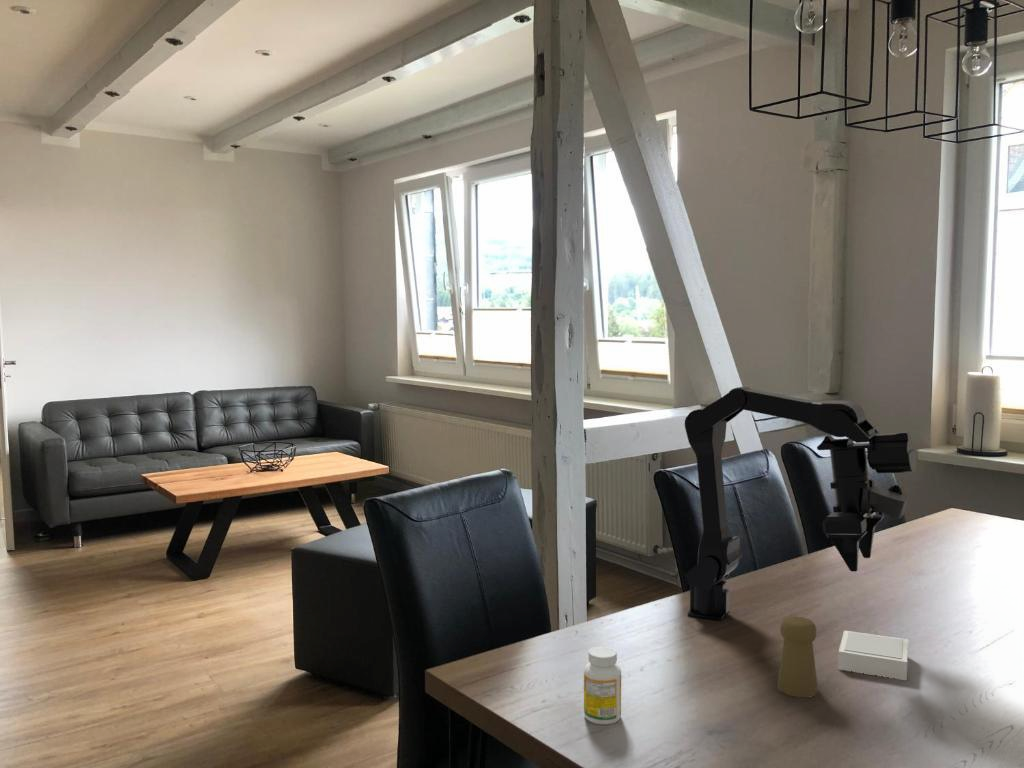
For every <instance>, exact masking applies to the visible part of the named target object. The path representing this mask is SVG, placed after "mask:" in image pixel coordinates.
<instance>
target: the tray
mask: <svg viewBox="0 0 1024 768" xmlns="http://www.w3.org/2000/svg"><path fill="white" fill-rule="evenodd" d="M838 648H839V649H838V662H837V663H838V666H837V667H838V668H837V669H839V671H844V670H845V672H851V671H852V673H856V674H857V673H858V674H863V673H864V675H871V676H875V675H877V677H881V676H883V677H884V678H887V677H889V678H888V679H893V678H895V679H894V680H899V681H900V680H901V681H906V680H907V677H908V661H909V659H908V658H909V639H907V638H902V637H901V638H900V637H899V638H898V637H894V636H893V637H892V636H886V635H878V634H872V633H864V632H858V631H851V630H843V634H842V637H841V642H840V645H839V647H838Z"/></svg>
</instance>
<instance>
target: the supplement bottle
mask: <svg viewBox="0 0 1024 768" xmlns="http://www.w3.org/2000/svg"><path fill="white" fill-rule="evenodd" d="M617 653H618V652H617V650H615V649H614V648H611V647H607V646H595V647H594V646H593V647H591V648H590V649H589V650H588V657H587V659H588V663H587V664H586V665H585V666H584V668H583V669H584V670H583V713H584V717H585V719H586V720H587V721H589V722H591V723H592V724H595V725H601V726H603V725H604V726H605V725H611V724H615V723H617V722H618V721H620V719H621V716H622V670H621V667H620V666H619V665H618V664H617V661H618V657H617V656H618V655H617Z"/></svg>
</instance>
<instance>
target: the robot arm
mask: <svg viewBox="0 0 1024 768" xmlns="http://www.w3.org/2000/svg"><path fill="white" fill-rule="evenodd" d="M743 411H749V412H753V413H757V414H762V415H767V416H773V417H777V418H782V419H787V420H792V421H796V422H801V423H803V424H807V425H809V426H811V427H813V428H814V429H816V430H818V431H820V432H823V433H825V434H827V435H825V437H824V438H823V440H822V441H821V443H819V444H818V445H817V447H816V449H817V450H818V451H829V454H830V462H831V470H832V479H833V481H831V482H830V489H831V490H834V496H835V497H834V498H835V504H834V505H833V506H832V511H833V512H831V513H830V514H829V515H827V516H826V517H825V518H824V519H823V520H822V522H821V525H822V532H823V534H825V535H826V537H827V538H829V540H830V541H831V542H832V544H833V546H835V548H836V550H837V551H838V553H839V555H840V556H841V558H842V560H843V561H844V563H845V565H846V566H847V568H848V570H849V571H850V572H854V573H855V572H858V569H859V567H858V566H859V556H860V555H859V554H860V553H861V556H862V557H863V558H864V559H870V558H871V556H872V549H873V542H874V535H875V529H876V526H877V525H878V524H879V522H881V521H882V520H883V519H884V517H885V515H887V516H889V517H890V518H893V519H897V520H900V519H901V518H902V516H905V511H906V507H907V505H908V504H909V495H908V494H905V490H904V487H903V485H900V484H896V483H893V484H892V485H891V486H890V487H889V488H888V489H886V487H883V488H881V487H877V486H876V485H875V480H874V479H873V477H869V469H868V467H869V468H870V469H871V470H875V472H876V473H877V474H880V475H881V474H883V475H885V474H911V473H912V474H913V473H915V472H916V469H917V453H916V449H915V448H914V443H913V440H912V439H911V432H910V431H899V432H896V433H880V432H879V431H878V430H877V429H876V428H875V426H874V425H873V424H872V423H871V422H870V421H869V420H868V419H867V418H866V414H865V411H864V409H863V408H862V407H861V404H859V403H857V402H856V401H853V400H843V399H842V400H839V399H838V400H836V399H835V400H833V399H831V400H826V399H825V400H824V399H823V400H812V399H811V400H810V399H805V398H801V397H800V398H799V397H795V396H790V395H789V396H788V395H785V394H779V393H774V392H769V391H765V390H759V389H754V388H750V387H749V386H739V387H738V386H737V387H734V388H732V389H730V390H729V391H728V392H727V393H726V394H725V395H723V396H722V397H720V398H719V399H716V400H715V401H713V402H712V403H710V404H709V405H707V406H706V407H705V406H704V407H703V408H698V409H693V410H692V411H691V412H689V413H688V415H687V416H686V417H685V419H684V429H685V433H686V437H687V440H688V444H689V446H690V448H691V449H692V452H693V453H694V455H695V458H696V468H697V479H698V489H699V500H700V508H701V509H700V511H701V520H702V533H701V537H700V540H699V545H698V548H697V549H698V551H697V564H696V565H695V566H693V567H692V568H691V569H689V570H688V571H687V572H686V573H685V575H684V576H685V580H686V582H687V585H688V586H689V598H690V599H689V610H688V611H687V616H691V617H697V618H704V619H711V620H712V619H713V620H718V621H721V620H723V618H724V617H725V615H727V614H728V612H729V610H730V589H728V588H727V581H726V580H725V579H728V578H729V575H730V573H731V572H733V571H734V570H735V569H736V568H737V567H738V565H739V562H740V558H742V557H743V555H742V552H741V550H740V548H741V547H740V544H741V543H740V542H741V537H740V536H739V535H737V536H733V535H732V533H731V531H730V529H729V525H728V515H727V506H726V494H725V486H724V485H725V484H724V483H725V482H724V474H723V462H722V451H723V449H724V443H725V440H726V436H727V435H726V434H727V433H726V432H727V423H729V422H730V421H732V420H733V419H734V418H736V417H737V416H738V415H739V414H740V413H742V412H743ZM835 437H836V438H835ZM844 437H845V438H844ZM877 513H878V514H877ZM859 551H860V552H859Z"/></svg>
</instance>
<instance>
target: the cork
mask: <svg viewBox="0 0 1024 768" xmlns="http://www.w3.org/2000/svg"><path fill="white" fill-rule="evenodd" d="M780 635H781V636H782V638H783V645H782V650H781V651H782V652H781V658H780V664H779V665H780V666H779V670H778V671H779V672H778V678H777V683H776V684H777V685H776V688H777V690H778V691H779V692H780V691H781V693H782V692H783V693H782V694H784V693H785V694H784V695H786V694H787V695H786V696H789V695H790V697H793V696H795V697H794V698H800V697H807V698H810V697H809V696H813V695H815V696H817V694H819V689H818V687H819V685H818V680H817V670H816V663H815V662H816V659H815V654H814V652H815V651H814V647H813V646H814V645H813V642H814V641H815V640H816V637H817V627H816V624H815V623H814V621H812V620H811V619H809V618H807V617H804V616H799V615H797V616H794V615H793V616H788V617H785V618H784V619H782V621H781V624H780ZM796 696H797V697H796ZM813 697H814V696H813Z"/></svg>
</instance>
